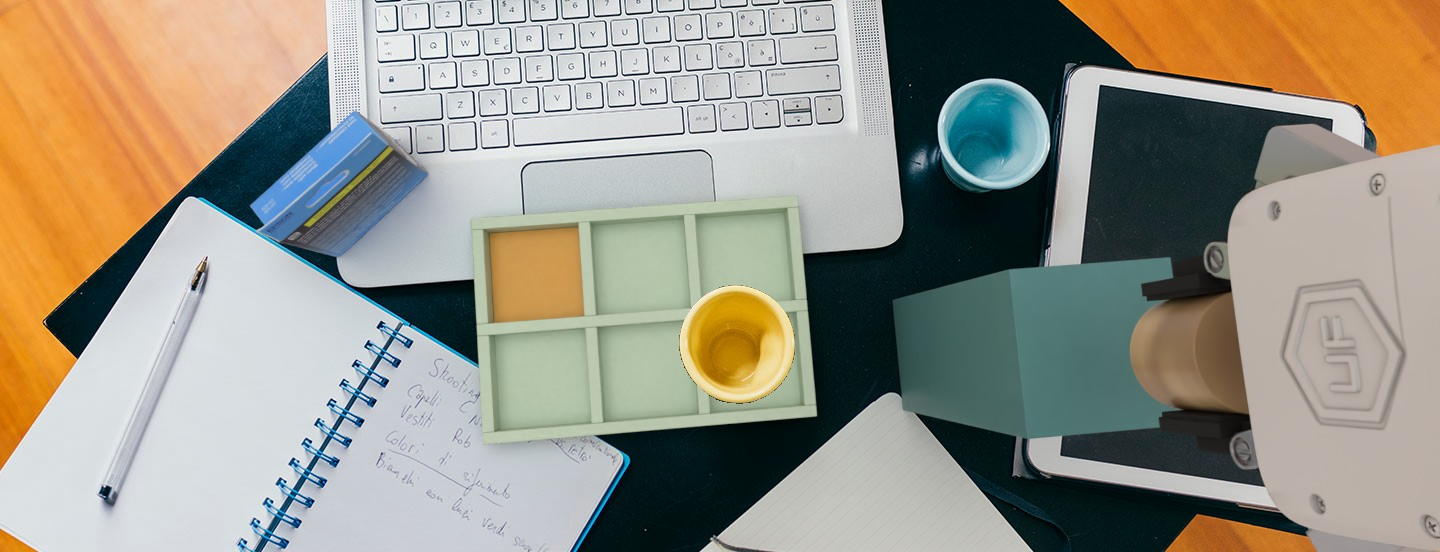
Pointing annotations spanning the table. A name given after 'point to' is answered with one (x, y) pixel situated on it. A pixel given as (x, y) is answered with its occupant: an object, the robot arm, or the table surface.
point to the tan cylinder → (1191, 354)
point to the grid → (625, 315)
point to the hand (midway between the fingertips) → (1188, 353)
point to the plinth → (1030, 349)
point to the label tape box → (338, 189)
